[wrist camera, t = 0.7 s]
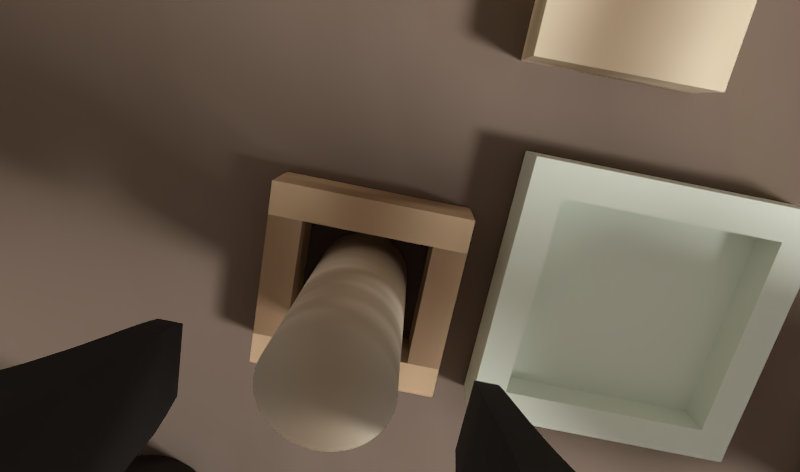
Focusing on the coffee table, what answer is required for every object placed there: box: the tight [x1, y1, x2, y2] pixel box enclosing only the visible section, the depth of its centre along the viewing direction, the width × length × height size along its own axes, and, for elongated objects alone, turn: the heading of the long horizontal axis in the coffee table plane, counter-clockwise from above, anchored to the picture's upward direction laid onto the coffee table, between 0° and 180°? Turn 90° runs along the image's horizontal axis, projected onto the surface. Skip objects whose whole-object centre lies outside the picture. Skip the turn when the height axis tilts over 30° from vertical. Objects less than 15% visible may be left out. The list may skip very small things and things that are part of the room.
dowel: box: [253, 233, 407, 452], centre depth 16 cm, size 4×4×8 cm
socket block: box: [250, 172, 475, 397], centre depth 19 cm, size 7×7×2 cm
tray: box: [464, 151, 800, 462], centre depth 19 cm, size 10×10×2 cm
